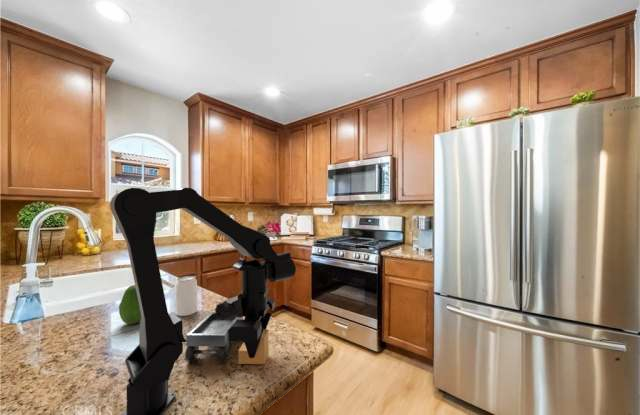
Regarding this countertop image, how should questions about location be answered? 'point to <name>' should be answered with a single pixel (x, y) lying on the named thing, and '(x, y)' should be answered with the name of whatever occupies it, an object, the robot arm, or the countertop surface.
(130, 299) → the avocado
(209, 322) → the tray
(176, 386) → the countertop surface
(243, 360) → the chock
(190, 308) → the can
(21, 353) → the countertop surface
